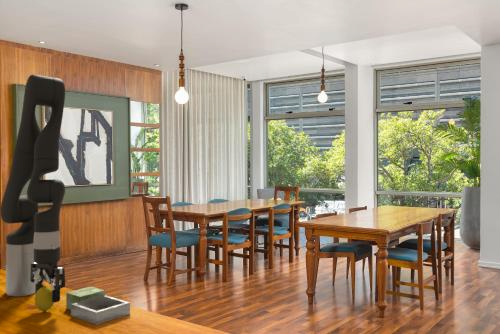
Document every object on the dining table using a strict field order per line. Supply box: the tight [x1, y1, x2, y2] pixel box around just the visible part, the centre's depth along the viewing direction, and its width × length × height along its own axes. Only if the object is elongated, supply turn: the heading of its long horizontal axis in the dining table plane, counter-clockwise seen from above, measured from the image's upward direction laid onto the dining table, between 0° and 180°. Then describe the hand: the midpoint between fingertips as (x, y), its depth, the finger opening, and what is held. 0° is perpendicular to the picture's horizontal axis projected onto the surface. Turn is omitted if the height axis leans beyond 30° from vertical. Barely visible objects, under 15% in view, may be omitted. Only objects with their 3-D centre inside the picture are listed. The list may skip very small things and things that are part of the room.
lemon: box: [34, 285, 55, 313], centre depth 154 cm, size 6×6×8 cm
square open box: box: [65, 286, 131, 326], centre depth 154 cm, size 19×12×5 cm, turn 53°
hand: (47, 299), depth 154 cm, fingers open, 8 cm apart
